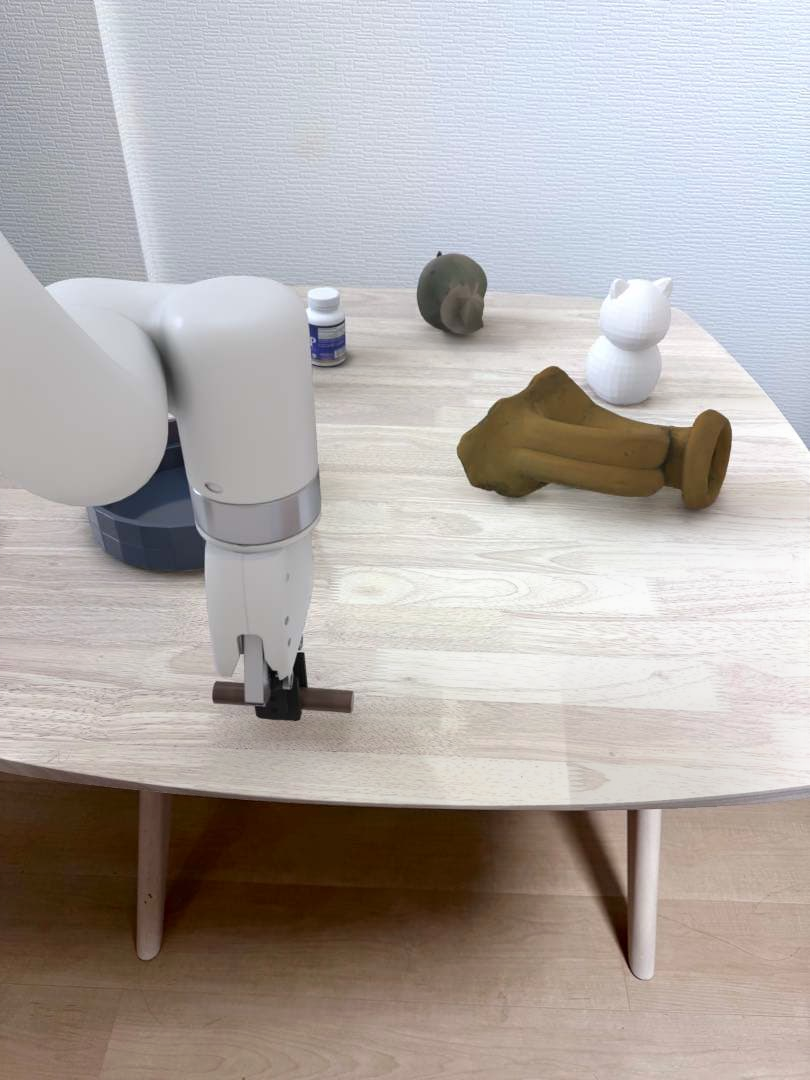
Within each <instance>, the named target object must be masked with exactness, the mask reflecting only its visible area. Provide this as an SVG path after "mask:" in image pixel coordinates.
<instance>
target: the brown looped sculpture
mask: <svg viewBox="0 0 810 1080" xmlns="http://www.w3.org/2000/svg"><path fill="white" fill-rule="evenodd" d="M486 413H487V414H486V415H485V416H484V417H483V418H482V419H481V420H480V421H478V423H477V424H476V425H474V426H473V427H471V428H470V429H469V430H468V431H466V432H465V433H464V434H463V435H461V437H460V440H459V442H458V445H457V446H456V455H457V458H458V459H459V461H460V463H461V465H462V468H463V471H464V473H465V477H466V479H467V481H468V483H469V485H470V486H472V487H473V488H477V489H480V490H483V491H487V492H495V493H496V494H497V495H499V496H501V497H505V498H509V499H510V498H511V499H519V498H520V499H521V498H523V497H526V496H528V495H531V494H533V493H535V492H536V491H538V490H540V489H541V488H544V487H546V486H548V485H551V484H552V485H557V486H564V487H569V488H574V489H578V490H584V491H589V492H593V493H598V494H602V495H603V494H604V495H610V496H615V497H623V498H648V497H651V496H653V495H655V494H656V493H658V492H659V490H661V489H662V488H663V487H666V488H672V489H674V490H677V491H680V492H681V501H682V502H683V504H684V505H685V506H687V508H689V509H692V510H703V509H706V508H708V507H710V506H712V505H713V504H714V503H715V502H716V501H717V499H718V497H719V494H720V492H721V489H722V487H723V484H724V481H725V480H726V475H727V472H728V467H729V462H730V459H731V452H732V445H733V444H732V443H733V429H732V426H731V422H730V420H729V419H728V417H726V416H725V415H724V414H723V413H721V412H720V411H718V410H715V409H713V408H709V409H706V410H703V411H702V412H701V413H699V414H698V415H697V417H696V418H695V419H694V421H693V424H692V426H675V425H662V424H654V423H648V422H643V421H639V420H635V419H631V418H628V417H626V416H622V415H620V414H618V413H616V412H613V411H611V410H609V409H607V408H605V407H603V406H602V405H599V404H597V403H596V402H595V401H594V400H593V399H592V398H591V397H590V396H589V395H588V393H586V392H585V391H584V390H583V389H582V388H581V386H579V384H577V382H575V380H574V379H573V378H571V377H570V375H569V374H568V373H567V372H566V371H565V370H564V369H562V368H561V367H559V366H557V365H549V366H547V367H546V368H544V369H542V370H541V371H540V372H539V373H536V374H535V375H533V377H532V378H531V379H530V381H529V383H528V385H527V386H526V387H525V388H524V389H522V390H521V391H519V392H518V393H515V394H514V395H512V396H511V395H510V396H507V397H501V398H499V399H498V400H496V401H495V402H494V403H493V404H492V405H491V407H490V408H489V409H488V411H487V412H486Z"/></svg>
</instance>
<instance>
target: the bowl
mask: <svg viewBox="0 0 810 1080" xmlns="http://www.w3.org/2000/svg"><path fill="white" fill-rule="evenodd" d="M85 511H86V514H87V518H88V521H89V525H90V529H91V532H92V535H93V536H92V537H93V539H94V541H95V542H96V543H97V544H98V545H99V546H100V547H101V549H102V550H103V551H104V552H105V553H106V554H108V555H109V556H111V557H113V558H115V559H117V560H118V561H121V562H122V563H124V564H127V565H130V566H134V567H138V568H142V569H145V570H151V571H163V572H164V571H166V572H185V571H186V572H187V571H197V570H205V546H206V540H205V539H204V538H203V537H202V536H201V535H200V533H199V532H198V530H197V528H196V523H195V518H194V512H193V506H192V501H191V495H190V490H189V484H188V479H187V475H186V469H185V464H184V458H183V453H182V447H181V442H180V436H179V431H178V426H177V421H176V419H175V417H172V418H168V438H167V445H166V448H165V452H164V456H163V458H162V460H161V462H160V464H159V466H158V468H157V470H156V471H155V473H154V474H153V475H152V477H151V478H150V479H149V481H148V482H147V483H146V484H145V485H143V486H142V487H141V488H140V489H139V490H138V491H136V492H135V493H133V494H131V495H130V496H128V497H126V498H124V499H122V500H120V501H117V502H114V503H110V504H107V505H101V506H92V507H85Z"/></svg>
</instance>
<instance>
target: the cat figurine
mask: <svg viewBox="0 0 810 1080" xmlns="http://www.w3.org/2000/svg"><path fill="white" fill-rule="evenodd" d="M609 288H610V289H609V292H608V294H607V296H606V297H605V298H604V300H603V301H602V303H601V306H600V308H599V309H600V310H599V313H598V321H599V322H598V325H599V327H600V330H601V333H602V335H600V336H599V337H597V339H596V340H595V341H594V342H593V344H592V345H591V346H590V349H589V351H588V353H587V357H586V360H585V364H584V365H585V366H584V378H585V381H586V382H587V384H588V386H589V387H590V388H591V390H593V391H594V393H595V394H596V395H597V396H598V397H599V398H600V399H602V401H605V402H606V403H608V404H612V405H620V406H621V405H622V406H629V405H637V404H640V403H642V402H644V401H646V400H647V399H648V398H649V397H650V396H651V394H652V393H653V392H654V391H655V388H656V386H657V384H658V382H659V379H660V377H661V374H662V369H663V368H662V367H663V361H662V354H661V351H660V349H659V346H658V344H659V343H660V342H661V341H662V340H664V339H665V338H666V335H667V333H668V332H669V330H670V325H671V321H672V320H671V319H672V307H671V302H670V297H671V296H672V292H673V288H674V280H673V278H672V277H667V276H666V277H663V278H660V279H657V280H655V281H651V280H647V279H643V278H641V279H640V278H636V279H635V278H634V279H629V280H626V279H624V278H621V277H618V278H615V279H614V281H612V283H611V285H610V287H609Z"/></svg>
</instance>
